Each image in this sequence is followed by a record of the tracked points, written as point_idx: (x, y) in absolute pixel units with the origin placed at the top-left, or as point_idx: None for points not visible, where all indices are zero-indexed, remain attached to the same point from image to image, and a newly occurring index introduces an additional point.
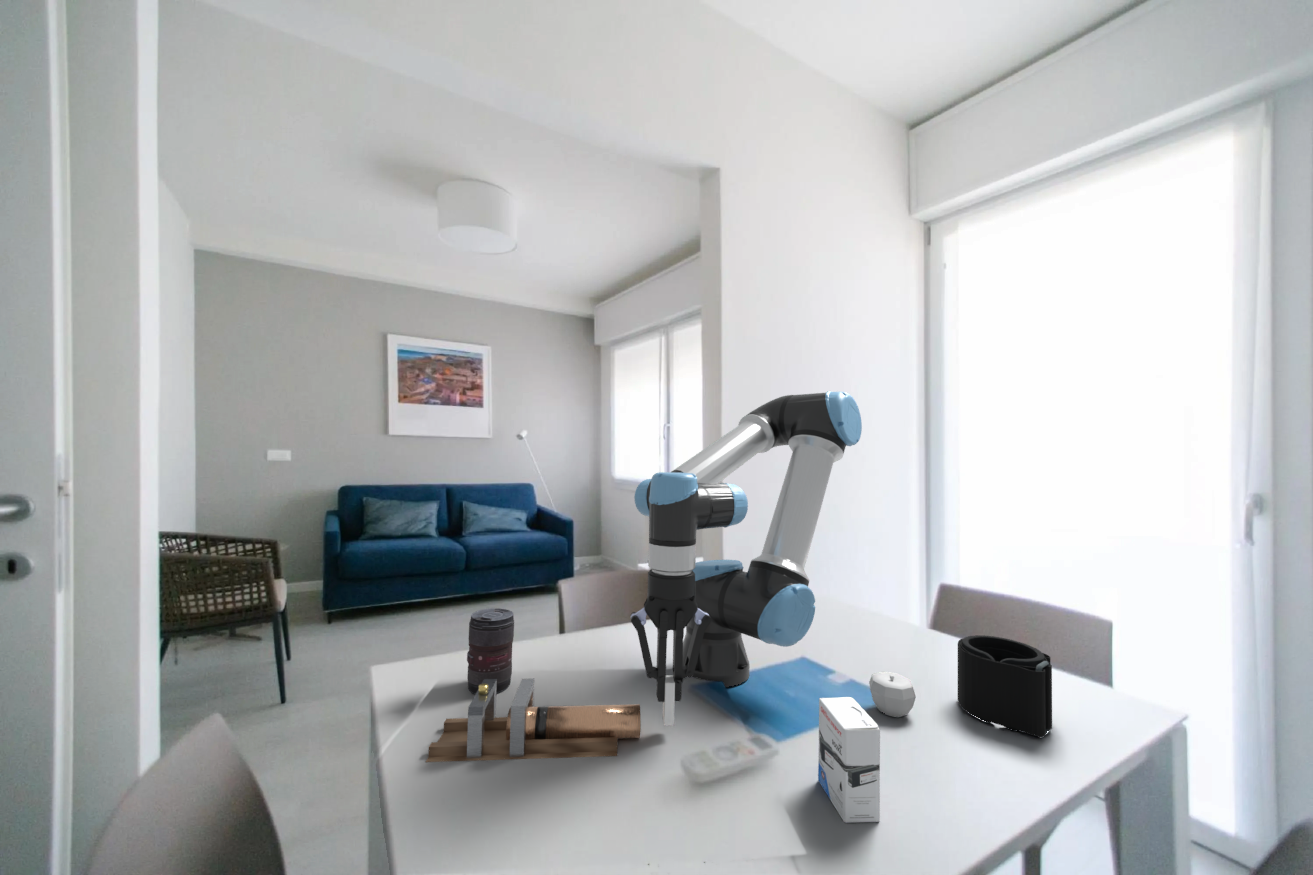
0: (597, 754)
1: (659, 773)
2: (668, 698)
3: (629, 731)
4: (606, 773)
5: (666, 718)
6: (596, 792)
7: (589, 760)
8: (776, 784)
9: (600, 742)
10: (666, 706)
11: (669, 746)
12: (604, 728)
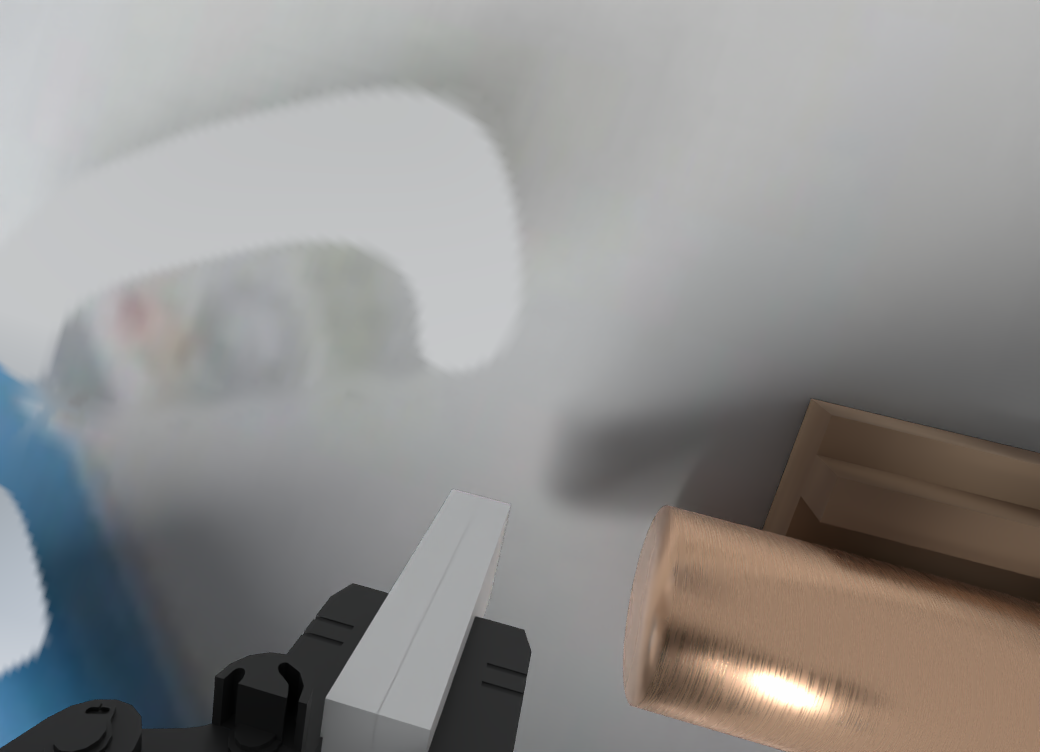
0: (942, 459)
1: (616, 278)
2: (442, 605)
3: (743, 527)
4: (888, 356)
5: (490, 523)
6: (1003, 217)
7: None
8: (95, 38)
9: (947, 502)
10: (473, 571)
11: (493, 469)
12: (922, 585)
